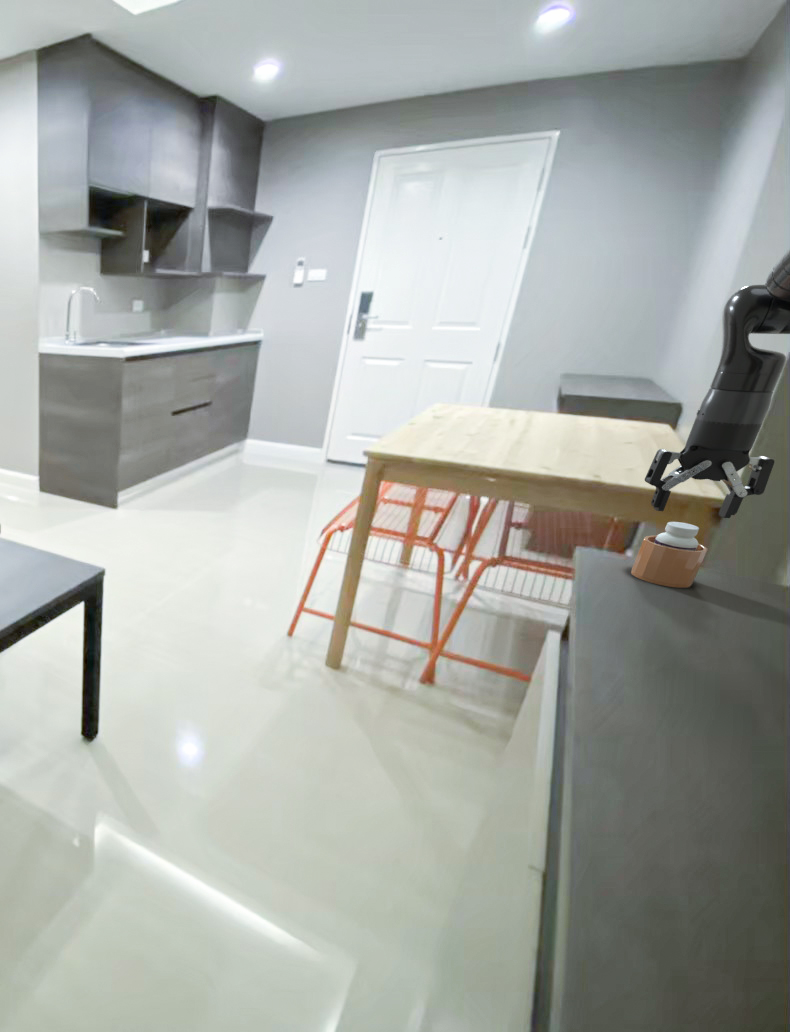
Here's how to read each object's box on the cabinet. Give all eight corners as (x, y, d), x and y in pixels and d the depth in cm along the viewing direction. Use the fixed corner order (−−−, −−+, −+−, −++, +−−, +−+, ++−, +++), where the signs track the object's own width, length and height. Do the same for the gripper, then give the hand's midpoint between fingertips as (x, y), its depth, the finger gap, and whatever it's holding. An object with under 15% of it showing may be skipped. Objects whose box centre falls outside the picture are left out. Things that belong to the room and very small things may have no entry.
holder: (679, 575, 111) (694, 539, 108) (699, 592, 104) (716, 554, 101) (623, 567, 114) (637, 532, 111) (639, 583, 107) (654, 547, 105)
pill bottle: (644, 567, 112) (664, 518, 108) (683, 576, 108) (706, 525, 105) (640, 575, 109) (660, 524, 105) (681, 584, 105) (704, 532, 101)
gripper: (680, 418, 98) (645, 514, 104) (804, 425, 92) (759, 525, 98) (662, 412, 104) (629, 502, 110) (776, 418, 98) (735, 513, 104)
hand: (690, 513), depth 104 cm, fingers open, 8 cm apart
